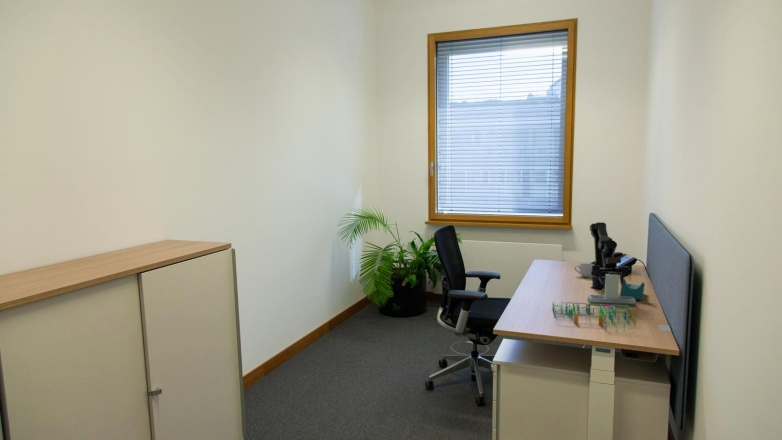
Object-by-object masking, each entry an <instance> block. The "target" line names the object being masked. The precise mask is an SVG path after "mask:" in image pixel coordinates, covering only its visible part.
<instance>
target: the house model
mask: <svg viewBox="0 0 782 440" xmlns="http://www.w3.org/2000/svg"><path fill="white" fill-rule="evenodd" d="M581 305H585V306H581ZM592 306H593V307H592ZM617 306H618V307H617V308H616V306H615V305H607V304H600V305H599V306H598V305H597V304H590V303H589V302H587V303H583V302H572V305H571V303H570V302H569V301H568V302H565V301H561V304H555V302H552V307H551V308H552V309H551V311H552V313H553V315H554V318H557V319H558V316H557V317H556V315H559V316H561V315H562V317H564V318H566V316H568V317H569V319H571V320H573V324H575V325H578V324H579V317H585V322H583V325H587V322H588V319H587V317H591V318H589V325H594V323H592V322H591V321H592V320H591V319H592V317H595V318H598V323H597V326H601V327H603V328H605V329H604V331H605V332H607V324H608V325H613V324H614V326H612V327H610V330H611V332H612V331H613V328H614V330H615V331H616V333H618V330H620V325H621V326H623V325H624V326H623V331H626V326H629V325H630V323H633V324H632V325H631V326H632V328H631V327H627V330H631V329H632V330H636V325H637V324H636V315H635V314H634V313H633V309H632V308H631V306H626V305H617ZM619 306H620V307H623V308H622V309H621V310H620V307H619ZM563 307H564V308H563ZM625 307H627V308H625ZM557 308H558V311H557ZM596 309H597V311H596ZM577 311H578V312H577ZM576 312H577V313H576ZM582 312H585V314H584V315H583V314H582ZM617 313H620V314H618V316H617ZM587 314H588V315H587ZM597 314H598V315H597ZM613 315H614V316H615V317H616V318H617V322H614V318H615V317H614V316H613ZM607 316H608V318H607ZM620 319H623V320H620ZM633 319H634V320H633ZM610 320H611V321H610ZM630 320H631V321H630ZM632 321H633V322H632ZM615 326H616V327H615ZM634 326H635V327H634ZM632 333H633V334H634V333H635V331H632Z"/></svg>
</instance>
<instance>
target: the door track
mask: <svg viewBox="0 0 782 440" xmlns="http://www.w3.org/2000/svg"><path fill="white" fill-rule="evenodd" d="M636 300H637V299H634V298H633V297H632V296H620V295H618V299H613V298H605V294H587V303H588V304H590V305H591V304H597V305H596V306H600V304H607V306H609V305H610V306H611V305H613V306H618V305H626V306H625V307H628V306H629V307H637V303H636Z"/></svg>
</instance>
